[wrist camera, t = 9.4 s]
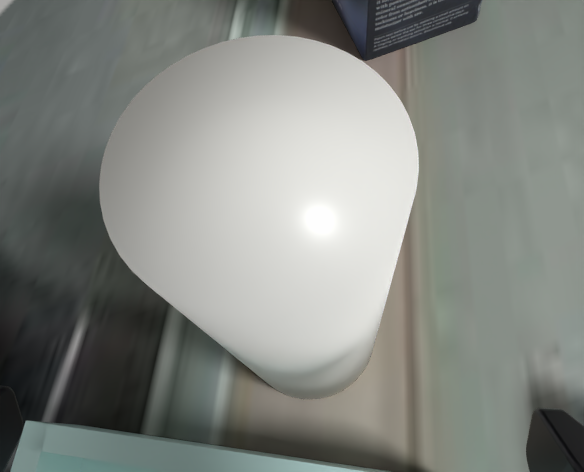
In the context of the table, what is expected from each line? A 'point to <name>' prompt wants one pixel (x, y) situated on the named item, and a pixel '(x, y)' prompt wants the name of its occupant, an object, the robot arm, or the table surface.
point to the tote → (145, 454)
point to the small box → (401, 21)
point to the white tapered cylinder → (267, 202)
